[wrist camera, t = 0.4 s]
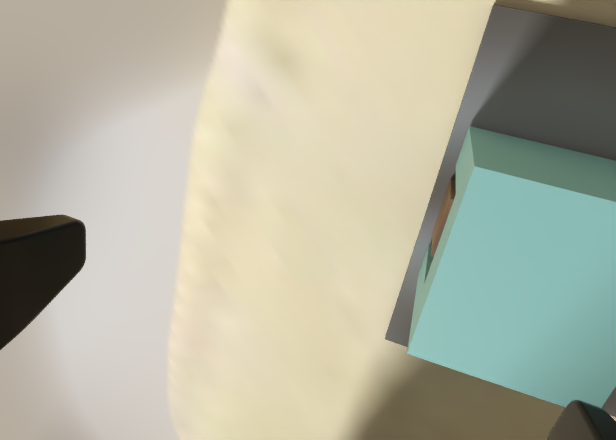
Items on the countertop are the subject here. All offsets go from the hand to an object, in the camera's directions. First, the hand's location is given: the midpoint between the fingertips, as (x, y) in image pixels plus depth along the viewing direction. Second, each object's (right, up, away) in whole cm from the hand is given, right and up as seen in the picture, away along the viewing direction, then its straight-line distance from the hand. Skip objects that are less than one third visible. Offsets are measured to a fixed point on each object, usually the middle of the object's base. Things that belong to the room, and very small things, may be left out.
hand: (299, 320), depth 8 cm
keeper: (+9, +2, +10) cm, 14 cm away
